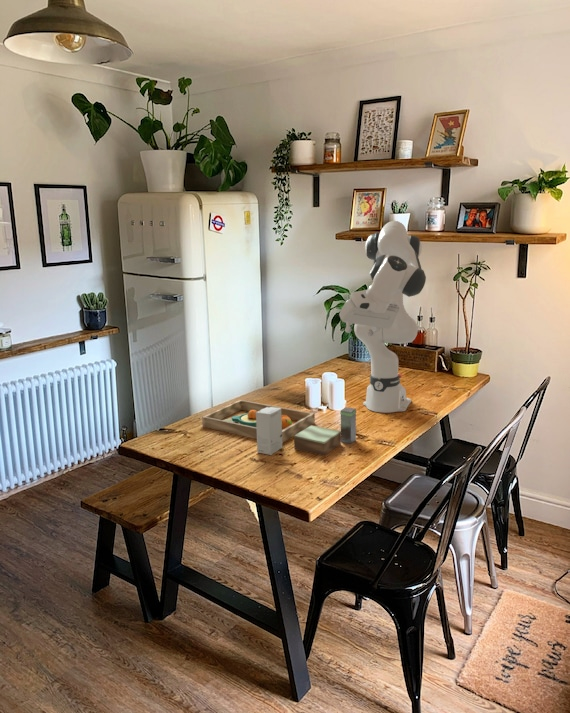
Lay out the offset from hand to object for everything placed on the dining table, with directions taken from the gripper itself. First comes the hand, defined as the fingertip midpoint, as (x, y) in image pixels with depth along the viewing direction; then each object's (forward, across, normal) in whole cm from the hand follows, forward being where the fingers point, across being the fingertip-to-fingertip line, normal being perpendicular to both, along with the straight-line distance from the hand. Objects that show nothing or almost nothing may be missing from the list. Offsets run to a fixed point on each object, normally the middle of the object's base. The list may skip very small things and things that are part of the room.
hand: (358, 333), depth 212 cm
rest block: (+37, +7, +19) cm, 43 cm away
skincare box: (+43, +22, +17) cm, 51 cm away
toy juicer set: (+54, +17, -6) cm, 57 cm away
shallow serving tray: (+54, +16, -6) cm, 57 cm away
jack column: (+35, -5, +18) cm, 40 cm away
